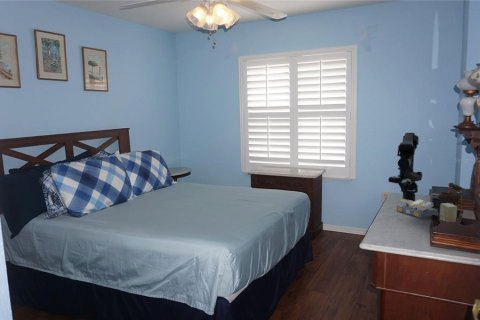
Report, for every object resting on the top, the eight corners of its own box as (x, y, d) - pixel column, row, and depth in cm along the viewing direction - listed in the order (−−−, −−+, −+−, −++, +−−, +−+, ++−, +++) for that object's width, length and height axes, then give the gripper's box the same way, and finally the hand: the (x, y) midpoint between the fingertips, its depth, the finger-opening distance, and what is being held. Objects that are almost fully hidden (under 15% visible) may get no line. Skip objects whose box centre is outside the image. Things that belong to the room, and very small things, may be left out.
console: (396, 210, 201) (396, 203, 201) (412, 208, 206) (412, 201, 205) (420, 218, 187) (420, 210, 186) (437, 215, 191) (437, 207, 191)
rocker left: (400, 201, 201) (401, 198, 201) (410, 203, 204) (411, 200, 204) (405, 203, 198) (406, 199, 198) (415, 204, 201) (416, 201, 201)
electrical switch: (450, 210, 200) (450, 194, 198) (449, 213, 196) (450, 197, 194) (431, 208, 205) (431, 192, 204) (430, 211, 201) (430, 195, 199)
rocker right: (417, 209, 191) (416, 206, 191) (428, 204, 194) (427, 201, 193) (422, 211, 188) (422, 208, 187) (433, 205, 191) (433, 202, 190)
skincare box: (438, 228, 170) (439, 203, 169) (447, 227, 171) (448, 202, 169) (447, 232, 164) (448, 206, 162) (456, 232, 164) (457, 206, 163)
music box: (464, 219, 182) (467, 181, 178) (465, 227, 173) (468, 187, 169) (430, 216, 190) (432, 179, 186) (429, 223, 180) (431, 185, 176)
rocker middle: (408, 207, 196) (408, 204, 196) (419, 202, 199) (419, 199, 198) (414, 208, 193) (413, 205, 193) (424, 203, 196) (424, 200, 195)
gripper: (404, 169, 186) (403, 199, 188) (430, 166, 193) (429, 195, 195) (388, 166, 196) (387, 194, 198) (413, 164, 203) (412, 191, 205)
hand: (404, 193), depth 199 cm, fingers closed
